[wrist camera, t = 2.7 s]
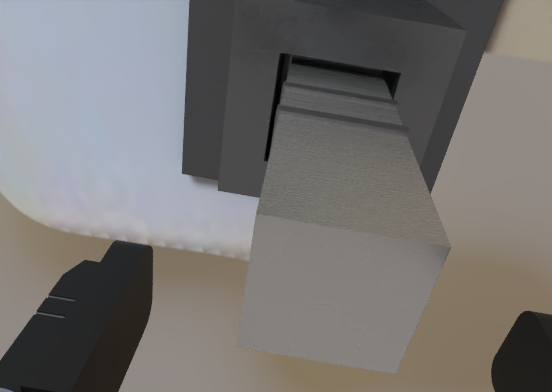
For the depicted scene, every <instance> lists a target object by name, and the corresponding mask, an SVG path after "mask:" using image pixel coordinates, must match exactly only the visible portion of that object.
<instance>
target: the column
mask: <svg viewBox="0 0 552 392" xmlns="http://www.w3.org/2000/svg"><path fill="white" fill-rule="evenodd" d="M398 107H399V104H398V101H396V100H392V97H391V95H390V92H389V90H388V87H387V85H386V82H385V80H384V77H383V75H382V70H381V69H375V68H369V67H363V66H357V65H352V64H346V63H340V62H334V61H328V60H322V59H317V58H311V57H305V56H299V55H293V54H291V55H290V61H289V67H288V74H287V80H286V82H285V81H284V82H283V86H282V93H281V99H280V105H279V104H278V106H277V110H276V117H275V123H274V130H273V136H272V143H271V149H270V156H269V160H268V165H267V169H266V173H265V178H264V182H263V186H262V191H261V195H260V199H259V204H258V208H257V212H256V218H255V225H254V232H253V239H252V245H251V252H250V259H249V266H248V272H247V280H246V286H245V293H244V299H243V307H242V313H241V320H240V326H239V333H238V340H237V347H238V348H244V349H250V350H256V351H262V352H267V353H274V354H279V355H285V356H291V357H297V358H302V359H308V360H314V361H320V362H326V363H332V364H337V365H344V366H349V367H355V368H361V369H367V370H372V371H378V372H385V373H390V374H396V373H397V371H398V368H399V366H400V364H401V361H402V359H403V357H404V355H405V352H406V350H407V348H408V345H409V343H410V341H411V338H412V336H413V334H414V332H415V329H416V327H417V325H418V322H419V320H420V318H421V315H422V313H423V311H424V309H425V306H426V304H427V302H428V299H429V297H430V295H431V292H432V290H433V288H434V286H435V283H436V281H437V279H438V276H439V274H440V271H441V269H442V267H443V265H444V262H445V260H446V258H447V256H448V253H449V251H450V249H451V246H450V243H449V241H448V238H447V236H446V233H445V231H444V228H443V226H442V223H441V221H440V218H439V216H438V213H437V211H436V208H435V206H434V203H433V201H432V198H431V195H430V193H429V190H428V188H427V185H426V183H425V180H424V178H423V175H422V173H421V170H420V168H419V165H418V163H417V160H416V158H415V155H414V153H413V150H412V148H411V145H410V143H409V140H408V139H409V136H410V133H411V132H410V130H409V128H408V126H403V125H402V122H401V120H400V117H399V115H398V112H397V111H398Z"/></svg>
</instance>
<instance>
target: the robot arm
mask: <svg viewBox="0 0 552 392" xmlns="http://www.w3.org/2000/svg"><path fill="white" fill-rule="evenodd" d="M152 285H153V249H152V247H151V246H149V245H143V244H137V243H131V242H125V241H119V240H116V241H114V242H113V243H112V245H111V246H110V248H109V249H108V251H107V252H106V254H105V255H104V257H103V258H102V260H101V262H95V261H88V260H84V261H83V262H81V263H80V264H78V265H77V266H75V267H74V268H72V269H71V270H69V271H68V272H66V273H65V274H63V276H62V277H61V278H60V280H59V281H58V282H57V284H56V285H55V286H54V288H53V289H52V290H51V292H50V293H49V297H48V298H46V299H45V300H44V301H43V303H42V304H41V306H40V307H39V308H38V310H37V313H36V315H33V317H32V318H31V319H30V321H29V322H28V323H27V325H26V326H25V327H24V329H23V330H22V332H21V333H20V334H19V336H18V337H17V339H16V340H15V341H14V342H13V344H12V345H11V347H10V348H9V349H8V351H7V352H6V354H5V355H4V356H3V358H2V359H1V360H0V392H118V391H119V388H120V386H121V384H122V382H123V379H124V377H125V375H126V372H127V370H128V368H129V365H130V363H131V361H132V358H133V356H134V354H135V351H136V349H137V347H138V344H139V342H140V340H141V337H142V335H143V333H144V330H145V328H146V325H147V322H148V319H149V315H150V311H151V305H152ZM491 376H492V384H493V387H494V390H495V392H552V315H550V314H544V313H538V312H532V311H525V312H523V313H521V314H520V316H519V317H518V318H517V320H516V322H515V323H514V325H513V327H512V328H511V330H510V332H509V333H508V335H507V337H506V338H505V340H504V342H503V343H502V345H501V347H500V349H499V350H498V352H497V354H496V355H495V357H494V360H493V363H492V369H491Z"/></svg>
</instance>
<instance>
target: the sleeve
mask: <svg viewBox="0 0 552 392" xmlns="http://www.w3.org/2000/svg"><path fill="white" fill-rule="evenodd" d="M502 2H503V0H190V2H189V25H188V48H187V70H186V93H185V116H184V139H183V161H182V174H187V175H193V176H199V177H204V178H210V179H216V180H219V183H218V191H224V192H230V193H236V194H241V195H247V196H253V197H259V198H260V195H261V191H262V186H263V182H264V178H265V173H266V169H267V165H268V160H269V156H270V149H271V143H272V136H273V130H274V123H275V117H276V110H277V106H278V104H279V105H280V99H281V93H282V86H283V82H284V81H285V82H286V80H287V74H288V67H289V61H290V55H291V54H293V55H299V56H305V57H311V58H317V59H322V60H328V61H334V62H340V63H346V64H352V65H357V66H363V67H369V68H375V69H381V70H382V75H383V77H384V80H385V82H386V85H387V87H388V90H389V92H390V95H391V97H392V100H396V101H398V104H399V107H398V111H397V112H398V115H399V117H400V120H401V122H402V125H403V126H408V128H409V130H410V132H411V133H410V136H409V139H408V140H409V143H410V145H411V148H412V150H413V153H414V155H415V158H416V160H417V163H418V165H419V168H420V170H421V173H422V175H423V178H424V180H425V183H426V185H427V188H428V190H429V193H431V191H432V188H433V186H434V183H435V180H436V178H437V175H438V172H439V170H440V167H441V164H442V162H443V159H444V156H445V154H446V151H447V148H448V146H449V143H450V140H451V138H452V135H453V132H454V130H455V127H456V124H457V122H458V119H459V116H460V114H461V111H462V108H463V106H464V103H465V101H466V98H467V95H468V93H469V90H470V87H471V85H472V82H473V79H474V76H475V74H476V71H477V69H478V66H479V63H480V61H481V58H482V55H483V53H484V50H485V47H486V45H487V42H488V39H489V37H490V34H491V31H492V29H493V26H494V23H495V21H496V18H497V15H498V13H499V10H500V7H501V5H502Z"/></svg>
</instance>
